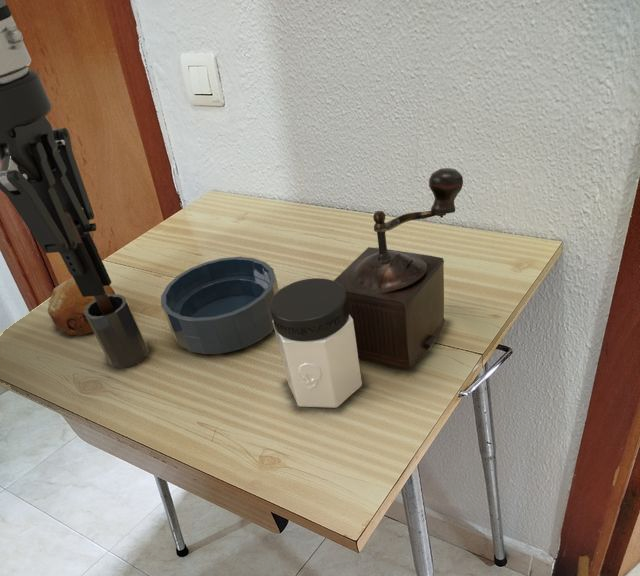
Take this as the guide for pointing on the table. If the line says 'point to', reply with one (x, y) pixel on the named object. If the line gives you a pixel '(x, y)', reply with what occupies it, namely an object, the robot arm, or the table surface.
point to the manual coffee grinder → (400, 288)
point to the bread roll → (71, 308)
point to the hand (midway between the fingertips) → (97, 289)
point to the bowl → (221, 305)
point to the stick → (103, 299)
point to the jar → (316, 342)
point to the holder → (117, 332)
